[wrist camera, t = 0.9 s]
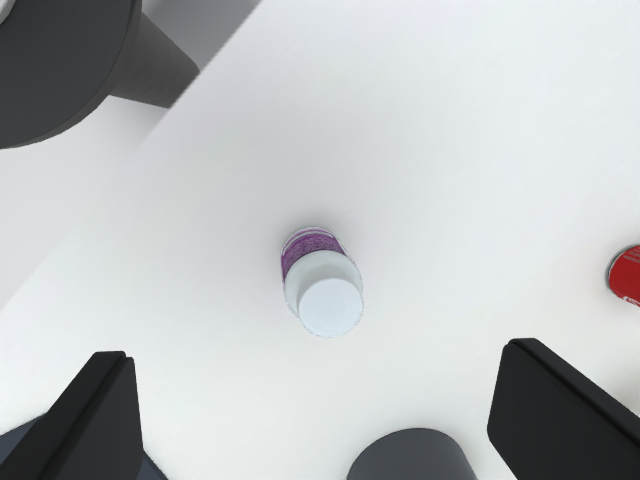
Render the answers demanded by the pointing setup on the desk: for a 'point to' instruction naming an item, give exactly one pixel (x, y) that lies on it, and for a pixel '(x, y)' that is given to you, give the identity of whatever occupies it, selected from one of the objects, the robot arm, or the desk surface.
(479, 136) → the desk surface
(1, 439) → the mat
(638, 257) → the soda can
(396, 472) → the light fixture
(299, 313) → the pill bottle
